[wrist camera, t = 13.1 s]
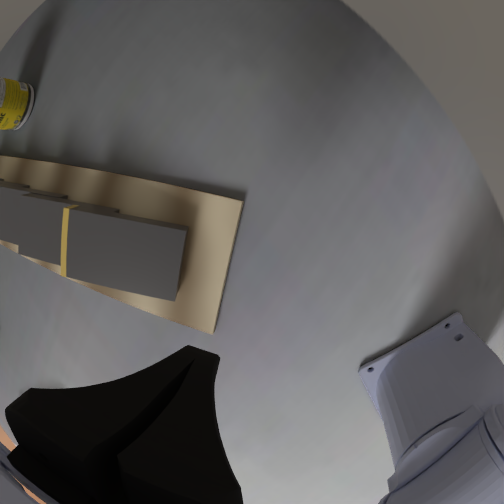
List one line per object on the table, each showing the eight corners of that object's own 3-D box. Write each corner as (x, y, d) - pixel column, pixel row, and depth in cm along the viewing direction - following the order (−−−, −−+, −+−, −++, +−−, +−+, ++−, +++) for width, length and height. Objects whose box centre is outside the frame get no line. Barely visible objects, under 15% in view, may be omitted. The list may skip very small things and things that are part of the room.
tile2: (112, 212, 19) (20, 195, 18) (106, 277, 20) (18, 253, 19) (119, 209, 20) (30, 193, 19) (112, 270, 22) (28, 248, 20)
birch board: (244, 201, 20) (242, 201, 19) (214, 331, 22) (212, 334, 21) (-14, 153, 23) (-17, 153, 22) (-19, 230, 25) (-22, 230, 25)
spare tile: (186, 230, 18) (63, 207, 17) (174, 301, 20) (60, 275, 18) (188, 225, 20) (73, 204, 18) (177, 292, 21) (70, 268, 20)
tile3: (58, 197, 20) (-9, 185, 18) (54, 255, 21) (-11, 236, 19) (67, 195, 21) (0, 183, 20) (63, 250, 22) (-2, 232, 21)
